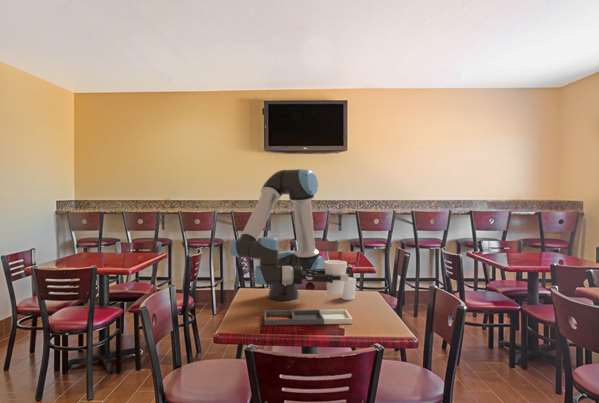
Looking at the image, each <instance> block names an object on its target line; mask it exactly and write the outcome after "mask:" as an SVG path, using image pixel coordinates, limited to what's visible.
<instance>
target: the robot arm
mask: <svg viewBox="0 0 599 403" xmlns="http://www.w3.org/2000/svg"><path fill="white" fill-rule="evenodd" d="M318 184H319V183H318V178H317V176H316V174H315V173H314V171H313V170H310V169H305V168H304V169H303V168H302V169H299V168H298V169H282V170H278V171H276V172H275V173H273V174H272V175H271V176H269V178H268V179H267V180H266V181H265V182H264V184H263V186H262V187H261V189H260V196H259V198H258V200H257V202H256V204H255V206H254V208H253V211H252V212H251V215H250V217H249V219H248V221H247V223H246V225H245V226H244V229H243V230H242V233H241V235H240V237H239V239H238V238H236V239H233V240H232V241H231V242H230V244H229V252H230V254H231V255H232V256H233V257H235V258H241V259H242V258H243V259H254V260H259V265H257V266H255V268H254V282H255V284H256V285H266V286H267V285H269V286H270V288H269V291H268V298H269V299H271V300H275V301H293V300H296V299H298V298H299V291H298V287H297V285H302V284H303V280H304V281H305V280H306V281H307V282H308V283H309V282H317V283H326V282H331V283H333V281H348V277H349V273H345V274H332V275H328V274H325V268H324V261H325V259H324V257H323V256H321V255H320V253H319V249H317V248H316V243H315V240H316V239H315V231H314V218H313V207H312V200H313V199H314V198H315V195H316V194H317V192H318V188H319V185H318ZM284 195H288V196H289V197H288V198H289V201H291V203H292V205H293V206H292V207H293V214H294V225H295V236H296V245H297V250H284V251H282V250H281V251H279V239H278V237H275V236H262V237H260V236H261V235H262V232H263V230H264V228H265V226H266V224H267V221H268V219H269V217H270V216H271V212H272V210H273V209H274V207H275V204H276V202H277V201H279V200H280V199H281V197H282V196H284ZM259 238H260V240H259Z"/></svg>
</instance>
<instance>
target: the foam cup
mask: <svg viewBox="0 0 599 403" xmlns="http://www.w3.org/2000/svg"><path fill="white" fill-rule="evenodd" d="M347 265H348V262H347V261H344V260H339V259H338V260H335V259H332V260H324V268H325V274H328V275H332V274H347V273H346V272H347V268H348V266H347ZM325 284H326V285H325V286H326V291H327V292H326V293H327V295H328V294H329V295H331V296H338V295H340V296H341V294H342V293H343V287H344V281H333V283H331V282H325Z"/></svg>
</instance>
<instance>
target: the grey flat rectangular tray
mask: <svg viewBox="0 0 599 403" xmlns="http://www.w3.org/2000/svg"><path fill="white" fill-rule="evenodd" d="M267 316H291V318H288V319H287V318H285V319H283V318H281V319H279V318H277V319H267ZM347 324H348V325H349V324H353V317H352V316H351V314H350V313H349V312H348V310H347V309H341V308H340V309H337V308H336V309H289V310H288V309H287V310H285V309H283V310H280V309H279V310H277V309H275V310H270V309H269V310H266V309H265V310H264V326H285V325H286V326H289V325H290V326H292V325H293V326H294V325H295V326H297V325H301V326H302V325H347Z"/></svg>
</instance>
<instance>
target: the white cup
mask: <svg viewBox="0 0 599 403" xmlns="http://www.w3.org/2000/svg"><path fill="white" fill-rule="evenodd" d="M356 285H357V278H356V277H350V276H348V281H344V287H343V293H342V294H340V298H341V300H344V301H345V300H346V301H352V300H355V298H356Z"/></svg>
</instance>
